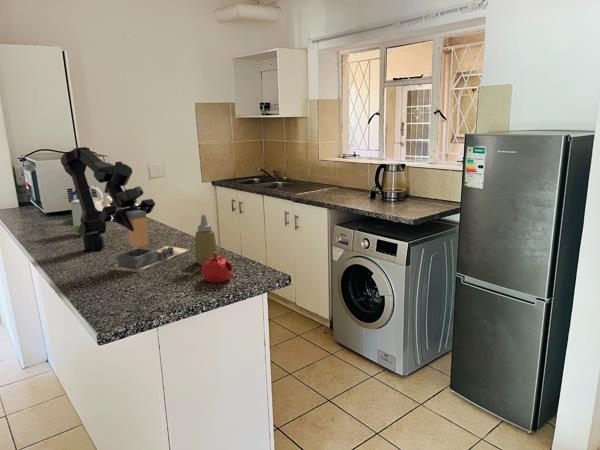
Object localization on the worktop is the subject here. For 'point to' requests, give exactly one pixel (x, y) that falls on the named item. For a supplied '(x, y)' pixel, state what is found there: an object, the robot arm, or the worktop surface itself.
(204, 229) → the squeeze bottle
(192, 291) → the worktop surface
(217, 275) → the pomegranate
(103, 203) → the kettle
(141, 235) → the plug
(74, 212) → the skincare box
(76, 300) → the worktop surface
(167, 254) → the board
